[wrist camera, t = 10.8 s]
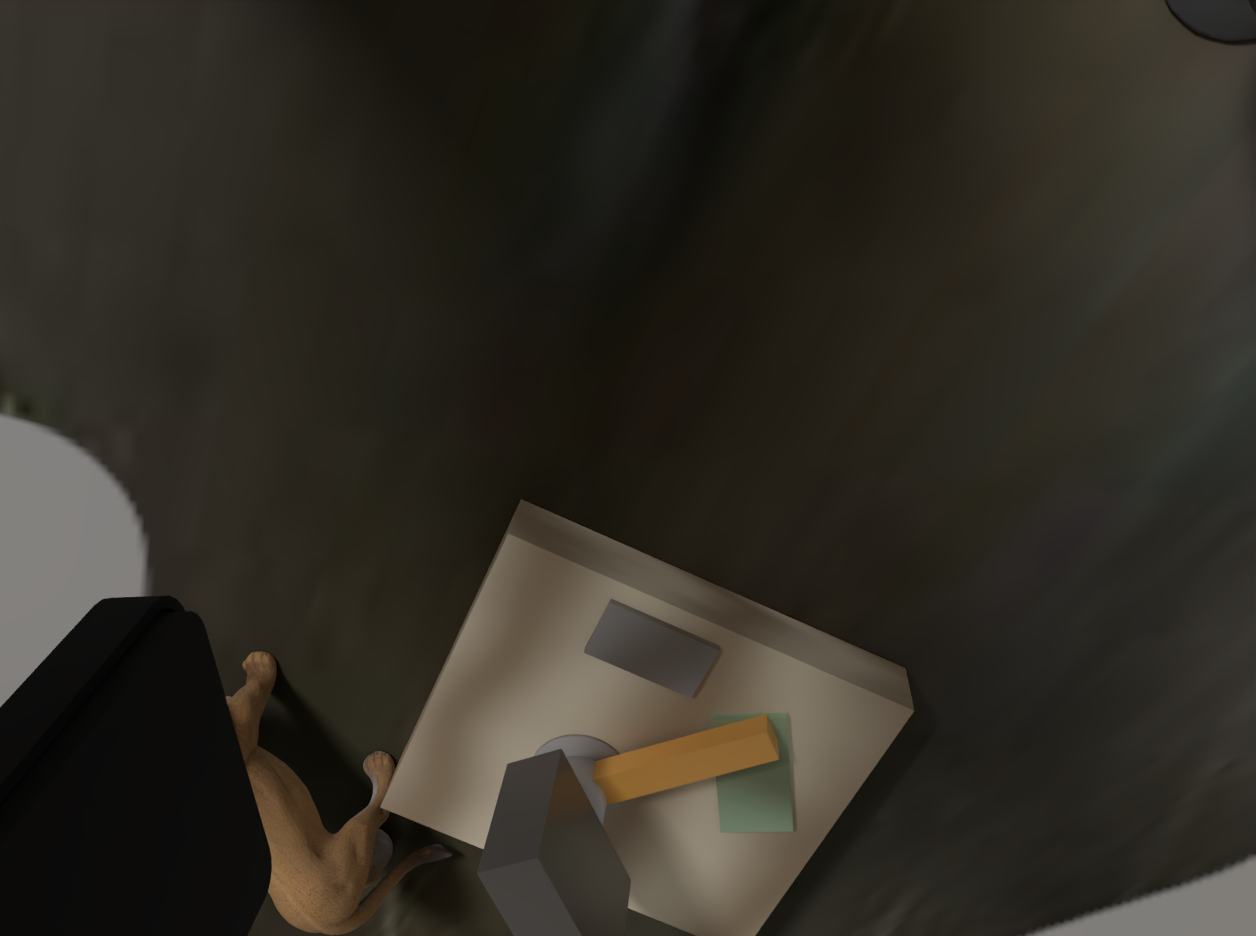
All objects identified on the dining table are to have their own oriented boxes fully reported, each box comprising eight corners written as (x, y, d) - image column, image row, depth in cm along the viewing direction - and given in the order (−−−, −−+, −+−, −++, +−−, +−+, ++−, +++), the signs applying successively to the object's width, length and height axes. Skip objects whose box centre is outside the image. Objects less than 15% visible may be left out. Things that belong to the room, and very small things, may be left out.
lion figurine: (115, 672, 46) (-19, 837, 38) (184, 586, 44) (58, 740, 36) (418, 878, 50) (354, 1069, 41) (496, 806, 47) (444, 992, 39)
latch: (584, 848, 44) (555, 1012, 38) (516, 723, 42) (473, 874, 36) (801, 792, 42) (810, 955, 36) (741, 658, 40) (740, 805, 34)
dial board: (397, 763, 47) (378, 812, 44) (521, 499, 41) (506, 538, 39) (742, 905, 48) (741, 960, 46) (905, 668, 43) (915, 716, 40)
